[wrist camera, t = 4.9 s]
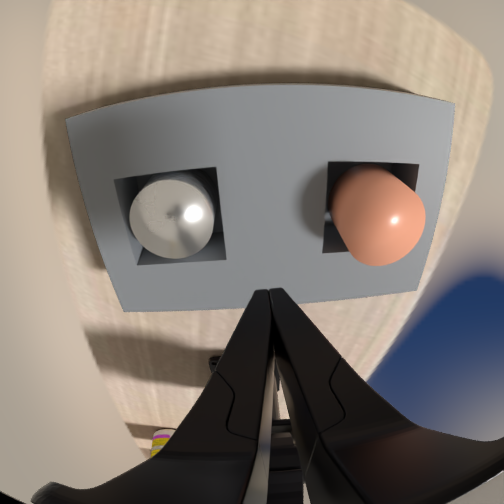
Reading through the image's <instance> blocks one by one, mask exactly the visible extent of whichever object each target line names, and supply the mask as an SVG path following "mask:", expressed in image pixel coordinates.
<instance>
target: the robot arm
mask: <svg viewBox="0 0 504 504" xmlns="http://www.w3.org/2000/svg"><path fill="white" fill-rule="evenodd" d="M274 353H275V354H274ZM341 357H342V356H341V355H340V354H339V352H338V351H337V350H336V349H335V348H334V347H333V346H332V344H331V343H330V342H329V341H328V340H327V339H326V337H325V336H324V335H323V334H322V333H321V332H320V330H319V329H318V328H317V327H316V326H315V325H314V324H313V322H312V321H311V320H310V319H309V318H308V317H307V315H306V314H305V313H304V312H303V311H302V310H301V308H300V307H299V306H298V305H297V304H296V303H295V302H294V300H293V299H292V298H291V297H290V296H289V295H288V293H287V292H286V291H285V290H284V289H283V288H282V287H279V288H270V289H269V291H268V289H258V290H255V291H254V292H253V294H252V296H251V298H250V300H249V302H248V304H247V306H246V308H245V310H244V312H243V314H242V316H241V318H240V320H239V322H238V324H237V326H236V328H235V330H234V332H233V334H232V336H231V338H230V340H229V342H228V344H227V346H226V348H225V350H224V352H223V354H222V356H221V357H212V358H210V359H209V366H210V369H211V373H212V375H211V377H210V379H209V381H208V383H207V385H206V386H205V388H204V390H203V392H202V393H201V395H200V397H199V398H198V400H197V401H196V403H195V404H194V406H193V407H192V409H191V410H190V411H189V413H188V414H187V415H186V417H185V418H184V420H183V421H182V422H181V424H180V425H179V426H178V428H177V429H176V430H175V432H174V433H173V435H172V436H171V437H170V439H169V440H168V441H167V442H166V444H165V445H164V446H163V447H162V448H161V449H160V450H159V451H158V452H157V453H156V454H155V455H154V456H152V457H151V458H150V459H148V460H146V461H145V462H143V463H141V464H139V465H137V466H136V467H134V468H132V469H130V470H128V471H127V472H125V473H123V474H121V475H119V476H117V477H115V478H113V479H112V480H110V481H108V482H106V483H104V484H102V485H99V486H97V487H94V488H90V489H75V488H71V487H68V486H65V485H62V484H59V483H56V482H50V483H48V484H46V485H45V486H43V487H42V488H40V489H39V490H38V491H37V492H36V493H35V494H34V495H33V497H32V499H31V502H32V503H34V504H303V484H304V483H306V487H307V491H308V495H309V499H310V503H311V504H504V437H503V438H500V439H498V440H495V441H485V442H484V441H476V440H472V439H467V438H462V437H458V436H454V435H450V434H446V433H442V432H438V431H435V430H431V429H427V428H424V427H421V426H419V425H417V424H415V423H413V422H411V421H410V420H409V419H407V418H406V417H405V416H403V415H402V414H401V413H400V412H399V411H398V410H396V409H395V408H394V407H393V406H392V405H391V404H390V403H388V402H387V401H386V400H385V399H384V398H383V397H381V396H380V395H379V394H378V393H377V392H376V391H374V389H373V388H372V387H370V386H369V385H368V384H367V383H366V382H365V381H364V380H363V379H362V378H361V377H360V376H359V375H358V374H357V373H356V372H355V371H354V369H353V368H352V367H351V366H350V365H349V364H348V363H347V362H346V360H345V359H344V358H341ZM280 380H281V384H282V389H283V393H284V397H285V401H286V405H287V409H288V413H289V417H290V419H280V413H279V403H278V394H277V391H279V383H280ZM0 504H26V503H24V502H22V501H19V500H18V499H16V498H14V497H12V496H10V495H8V494H6V493H4V492H2V491H0Z"/></svg>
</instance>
